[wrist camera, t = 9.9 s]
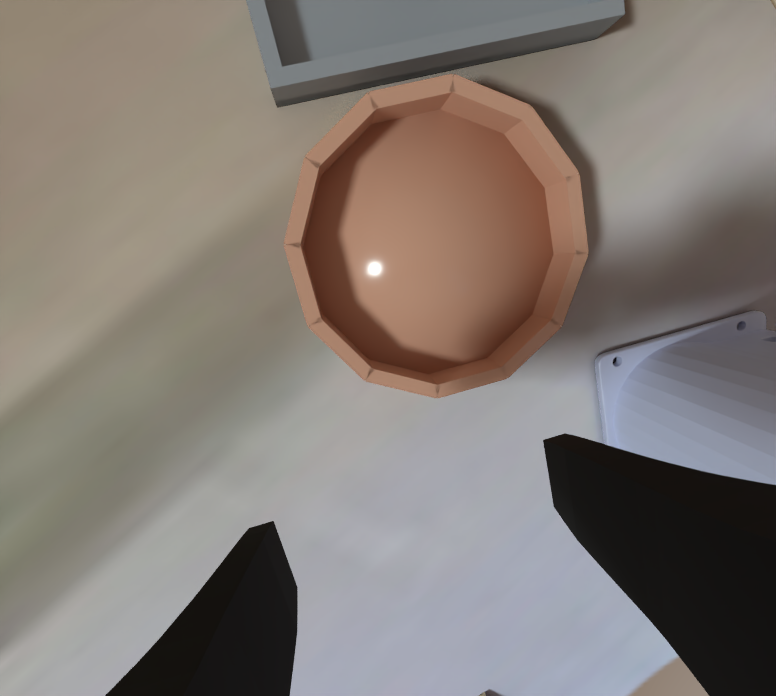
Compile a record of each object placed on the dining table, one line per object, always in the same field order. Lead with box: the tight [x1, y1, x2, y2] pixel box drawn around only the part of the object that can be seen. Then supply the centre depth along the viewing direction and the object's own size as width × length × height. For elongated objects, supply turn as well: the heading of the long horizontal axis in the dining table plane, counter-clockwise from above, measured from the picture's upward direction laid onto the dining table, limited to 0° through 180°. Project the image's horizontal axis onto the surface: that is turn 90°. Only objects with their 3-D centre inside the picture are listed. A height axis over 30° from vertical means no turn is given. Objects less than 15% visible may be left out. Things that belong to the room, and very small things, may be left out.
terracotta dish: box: [284, 74, 589, 398], centre depth 17 cm, size 12×12×2 cm
